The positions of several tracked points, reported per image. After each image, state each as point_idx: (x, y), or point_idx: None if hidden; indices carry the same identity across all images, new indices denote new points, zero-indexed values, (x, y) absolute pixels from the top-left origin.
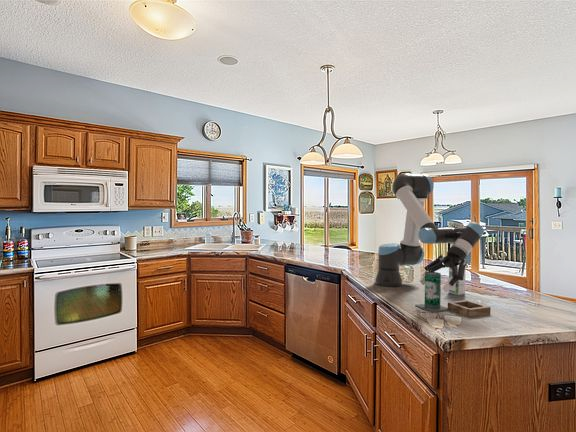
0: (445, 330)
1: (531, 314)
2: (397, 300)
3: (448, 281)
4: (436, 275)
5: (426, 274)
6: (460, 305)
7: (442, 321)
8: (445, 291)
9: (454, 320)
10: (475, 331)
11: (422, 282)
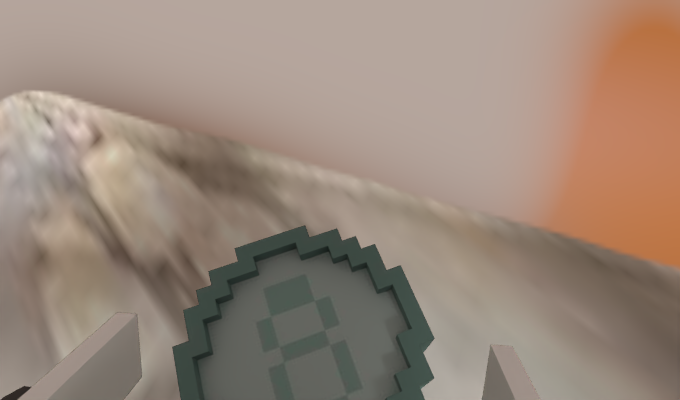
0: (55, 151)
1: None
2: (585, 306)
3: (43, 380)
4: (201, 309)
5: (333, 237)
6: None
7: (125, 234)
8: (134, 365)
9: (86, 312)
10: None
11: (488, 384)
